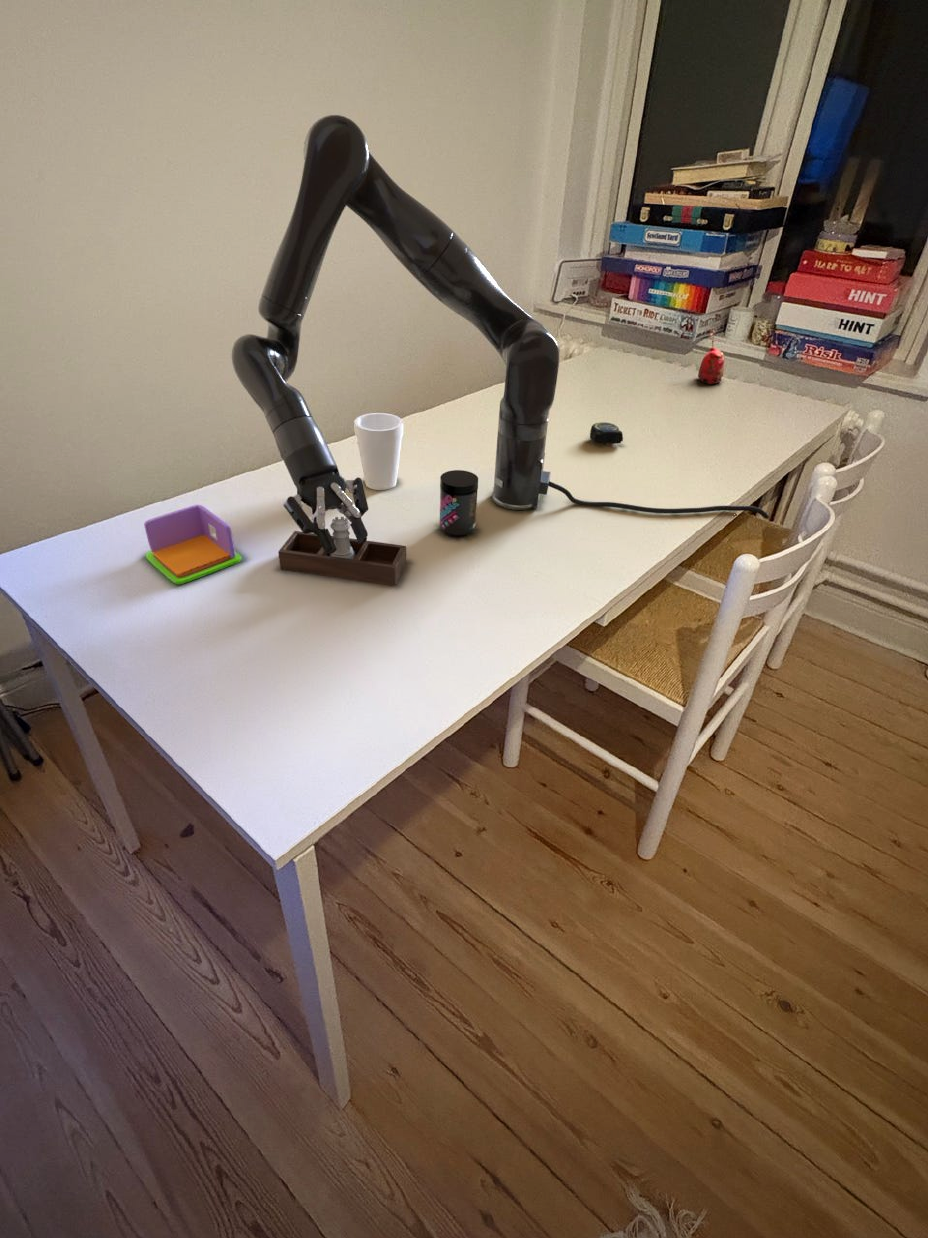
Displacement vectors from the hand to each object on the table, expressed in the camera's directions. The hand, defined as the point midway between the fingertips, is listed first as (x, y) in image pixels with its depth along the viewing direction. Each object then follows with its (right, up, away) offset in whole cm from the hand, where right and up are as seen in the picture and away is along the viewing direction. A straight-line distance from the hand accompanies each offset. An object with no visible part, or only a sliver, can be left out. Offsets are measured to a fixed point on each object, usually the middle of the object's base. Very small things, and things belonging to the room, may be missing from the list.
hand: (348, 546), depth 112 cm
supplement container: (+18, +4, +16) cm, 24 cm away
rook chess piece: (-1, -2, +4) cm, 5 cm away
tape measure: (+52, +30, +52) cm, 79 cm away
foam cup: (+2, +16, +30) cm, 34 cm away
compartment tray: (-1, -3, +4) cm, 5 cm away
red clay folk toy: (+91, +59, +93) cm, 143 cm away
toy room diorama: (-27, -2, +4) cm, 27 cm away
